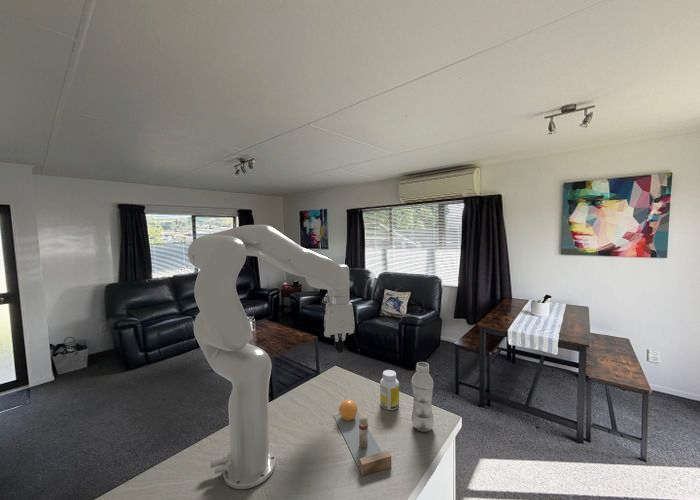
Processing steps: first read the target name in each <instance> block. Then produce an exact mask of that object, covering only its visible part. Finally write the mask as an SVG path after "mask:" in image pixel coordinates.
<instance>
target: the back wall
mask: <svg viewBox="0 0 700 500" xmlns="http://www.w3.org/2000/svg"><path fill="white" fill-rule="evenodd" d="M390 468H392V455H391V453H390V451H389V450H385V451H382V452H381V453H377V454H374V455H370V456H367V457H363V458H360V459H359V467H358V469H359V470H358V471H359V472H360V475H361V476H362V477H365V476H367V475H371V474H374V473H378V472H380V471H383V470H387V469H390Z"/></svg>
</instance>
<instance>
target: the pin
mask: <svg viewBox="0 0 700 500" xmlns="http://www.w3.org/2000/svg"><path fill="white" fill-rule="evenodd" d="M368 420H369V419H368V415H365V414H361V415H360V416H359V447H360V448H361V449H367V447H368V430H369V421H368Z"/></svg>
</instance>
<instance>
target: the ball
mask: <svg viewBox="0 0 700 500" xmlns="http://www.w3.org/2000/svg"><path fill="white" fill-rule="evenodd" d="M338 407H339V408H338V413H339V414H340V416H341V417H342V418H343V419H344V420H346V421H350V420H353V419H354V418H355V417H356V415H357V412H358V410H359V409H358V406H357V404H356V402H355V401H354V400H352V399H349V398H348V399H345V400H343V401H342V402H341V403H340V405H339V406H338Z"/></svg>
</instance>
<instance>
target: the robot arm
mask: <svg viewBox="0 0 700 500" xmlns="http://www.w3.org/2000/svg"><path fill="white" fill-rule="evenodd" d="M247 257H258V258H260V259H262V260H263V261H265V262H267V263H269V264H271V265H273V266H274V267H276V268H278V269H279V270H282V271H284V272H286V273H288V274H291V275H294V276H297V277H303V278H305V281H306V284H308V286H310V287H311V288H315V289H317V290H318V289H320V290H327V295H326V296H325V297H323V302H327V303H326V304H325V309H324V318H323V328H324V333H323V335H324V337H325V338H331V339H333V341H334V350H335V351H336V352H337V353H339V354H340V353H343V351H344V349H345V340H346V338H347V337H348V336H349V335H353V334H354V333H355V328H356V327H355V323H356V322H355V316H354V315H355V314H354V308H353V303H352V302H350V267H349V266H348V265H347V264H343V263H337V262H336V261H334V260H333V259H331V258H328V257H327V256H325V255H322V254H319V253H317V252H315V251H313V250H311V249H307V248H305V247H303V246H301V245H300V244H297V242H295V241H294V240H292V239H291V238H289V237H288V236H287V235H285V234H283V233H282V232H280V231H279V230H277V229H276V228H275V227H272V226H270V225H267V224H261V223H260V224H247V225H246V224H245V225H241V226H240V225H239V226H236V227H233V228H229V229H226V230H221V231H216V232H213V233H208V234H205V235H202V236H198V237H196V238H195V239H194V240H193V241H192V242H190V244H189V246H188V250H187V258H188V261H189V262H190V264H191V265H192V266H194V267H195V268H196V269H198V270H199V271H198V274H197V276H196V280H195V284H194V288H193V290H194V291H193V293H194V299H195V302H196V305H197V307H198V309H199V312H198V314H197V315H196V317H195V318H194V322H193V333H194V334H193V335H194V337H195V340H196V341H197V343H198V345H199V346H198V347H200V349H201V351H202V354H203V355H204V357H205V359H206V360H207V362H208V365H209V366H210V367H211V369H212V370H213V372H215V374H218V375H219V376H220V377H222V378H224V379H225V380H227V381H229V382H230V383H231V384H232V385H231V386H232V390H231V393H230V395H229V398H228V409H227V410H228V433H229V434H228V437H229V439H228V440H229V449H228V453H225V454H224V455H223V456H219V457H215V458H211V459H210V466H209V467H210V469H214V474H218V473H221V472H223V480H224V482H225V483H226V485H228V487H230V488H232V489H235V490H246V489H251V488H254V487H257V486H259V485H260V484H262V483H264V482H265V481H266V480H267V479H268V478H269V477H270V476H271V475H272V473H274V471H275V468H276V464H277V458H276V454H275V452H274V451H273V450H272V449H270V418H269V417H270V414H269V411H270V410H269V409H270V408H269V407H270V406H269V388H270V387H269V386H270V379H271V373H272V368H273V367H272V359H271V357H270V356H269V354H268V353H267V352H266V351H265V350H264V349H263V348H261V347H258V346H256V345H253V344H250V341H251V340H252V335H253V330H252V325H251V323H250V320H249V318H248V315H247V314H246V311H245V309H244V306H243V304H242V302H241V300H240V297H239V294H238V292H237V279H238V276H239V274H240V272H241V270H242V268H243V267H244V265H245V263H246V260H247Z"/></svg>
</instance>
